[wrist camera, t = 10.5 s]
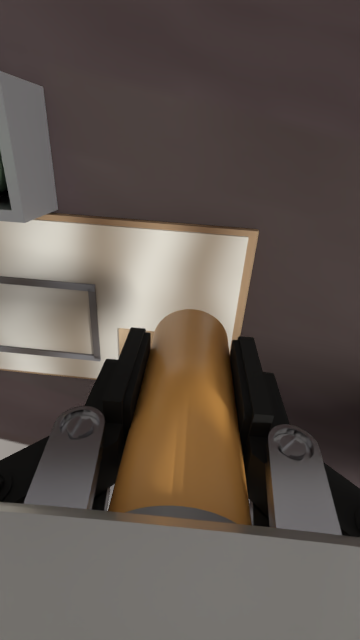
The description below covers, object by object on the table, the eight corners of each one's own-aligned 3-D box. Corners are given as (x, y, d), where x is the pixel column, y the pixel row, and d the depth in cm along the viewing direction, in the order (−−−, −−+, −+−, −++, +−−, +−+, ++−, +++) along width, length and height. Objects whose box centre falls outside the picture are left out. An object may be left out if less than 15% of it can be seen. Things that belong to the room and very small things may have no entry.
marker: (234, 311, 13) (304, 678, 4) (223, 375, 14) (255, 738, 6) (152, 304, 13) (44, 649, 4) (151, 369, 14) (71, 716, 6)
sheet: (257, 229, 17) (259, 232, 16) (229, 388, 22) (230, 397, 21) (-86, 201, 18) (-100, 204, 17) (-34, 361, 23) (-42, 369, 22)
